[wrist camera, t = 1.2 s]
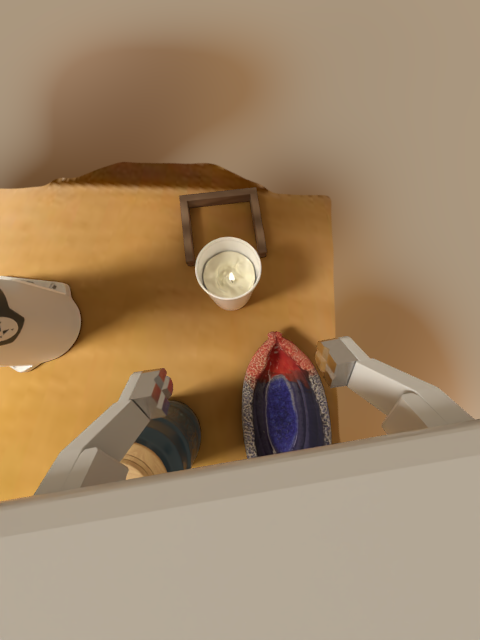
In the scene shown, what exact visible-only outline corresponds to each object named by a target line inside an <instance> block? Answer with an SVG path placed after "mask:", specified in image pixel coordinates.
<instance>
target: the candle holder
mask: <svg viewBox="0 0 480 640" xmlns="http://www.w3.org/2000/svg"><path fill="white" fill-rule="evenodd" d="M261 270H262V267H261V261H260V258H259V255H258V253H257V252H256V250H255V249H254V248H253V247H252V246H251V245H250V244H249V243H247V242H246V241H244V240H242V239H239V238H235V237H222V238H218V239H215V240H213V241H211V242H209V243H208V244H207V245H206V246H205V247H204V248H203V249H202V250H201V251H200V253H199V255H198V257H197V259H196V264H195V273H196V278H197V280H198V283H199V284H200V286H201V287H202V289H203V290H204V291H205V292H206V293H207V294H208V295H209V296H210V297H211V299H212V300H213V301H214V302H215V303H216V304H217V305H218V306H219V307H221V308H222V309H225V310H230V311H233V310H238V309H240V308H242V307H243V306H244V305H246V303H247V302H248V301H249V299H250V297H251V295H252V293H253V291H254V289H255V287H256V285H257V284H258V282H259V279H260V276H261Z"/></svg>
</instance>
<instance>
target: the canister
mask: <svg viewBox="0 0 480 640" xmlns="http://www.w3.org/2000/svg"><path fill="white" fill-rule="evenodd" d="M168 401H169V403H170V405H169V409H168V413H167V416H165V417H160V418H155V419H150V421H149V423H148V424H147V426H146V427H145V428H144V430H143V431H142V432H141V434H140V435H139V437H138V438H137V439H136V441H135V442H134V443H133V445H132V446H131V448H130V449H129V450H128V452H127V453H126V454H125V456H124V457H123V459H122V460H121V461H120V463H122V464H124V465H125V466H127V467H128V469H129V471H128V474H127V477H126V480H128V479H133V478H139V477H145V476H151V475H157V474H162V473H168V472H174V471H180V470H186V469H191V467H192V464H193V462H194V461H195V459H196V457H197V454H198V451H199V448H200V443H201V428H200V423H199V420H198V418H197V416H196V414H195V413H194V412H193V410H192V409H191V408H189V407H188V406H187V405H185V404H184V403H181V402H179V401H174V400H168Z"/></svg>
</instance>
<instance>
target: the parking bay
mask: <svg viewBox="0 0 480 640" xmlns="http://www.w3.org/2000/svg"><path fill="white" fill-rule="evenodd" d="M248 201H250V206H251V212H252V219H253V225H254V231H255V237H256V243H257V250H258V255H259V257H266V253H267V249H266V243H265V237H264V231H263V226H262V220H261V214H260V208H259V202H258V196H257V190H256V187H254V188H245V189H236V190H227V191H218V192H209V193H199V194H190V195H181V196H180V206H181V216H182V227H183V237H184V247H185V257H186V263H187V264H188V266H193V265H195V256H194V247H193V237H192V228H191V218H190V209H189V208H194V207H203V206H212V205H221V204H230V203H239V202H248Z"/></svg>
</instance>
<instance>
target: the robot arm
mask: <svg viewBox="0 0 480 640" xmlns="http://www.w3.org/2000/svg"><path fill="white" fill-rule="evenodd" d="M80 327H81V316H80V312H79V309H78V307H77V305H76V304H75V302H74V301H73V299H72V297H71V291H70V287H69V285H68V284H65V283H61V282H53V281H44V280H34V279H25V278H16V277H6V276H0V367H5V366H10V367H11V368H13V369H14V370H16V371H18V372H29V371H31V370H32V369H34V368H35V367H37V366H38V365H39V364H41V363H44V362H47V361H50V360H53V359H56V358H58V357H59V356H61V355H63V354H64V353H65V352H66V351H68V350H69V349H70V347H71V346H72V345H73V344H74V342H75V341H76V339H77V337H78V334H79V331H80ZM316 347H317V349H318V350H317V351H316V352H315V361H316V364H317V366H318V368H319V370H321V371H322V372H324V379H325V380H326V382H327V384H328V385H329V387H330V388H334V387H341V386H347V387H349V388H350V389H351V390H353V391H354V392H355V393H357V394H358V395H360V396H361V397H362V398H364V399H365V400H367V401H368V402H369V403H370V404H372V405H373V406H375V407H376V408H377V409H379V410H380V411H382V412H383V413H384V414H386V415H387V417H386V419H385V420H384V421H383V423H382V428H383V429H384V431H385V432H386V433H387V435H384V436H378V437H372V438H366V439H361V440H354V441H348V442H343V443H337V444H331V445H325V446H319V447H314V448H308V449H302V450H296V451H290V452H284V453H279V454H273V455H267V456H261V457H255V458H250V459H244V460H238V461H232V462H226V463H220V464H215V465H209V466H203V467H197V468H191V469H186V470H180V471H174V472H168V473H162V474H157V475H151V476H145V477H139V478H133V479H128V480H126V477H127V474H128V471H129V469H128V467H127V466H125V465H124V464H122V463H120V461H121V460H122V459H123V457H124V456H125V454H126V453H127V452H128V450H129V449H130V448H131V446H132V445H133V443H134V442H135V441H136V439H137V438H138V437H139V435H140V434H141V432H142V431H143V430H144V428H145V427H146V426H147V424H148V423H149V421H150V419H155V418H160V417H165V416H167V413H168V409H169V405H170V403H169V401H168V399H169V398H170V397H171V395H172V392H173V383H172V380H171V378H170V377H168V376H166V374H167V372H166V370H165V369H164V368H160V369H153V370H146V371H140V372H134V373H133V374H132V375H131V376H130V378H129V380H128V382H127V384H126V386H125V388H124V390H123V392H122V394H121V396H120V398H119V400H118V402H117V403H114V404H113V405H112V406H110V407H109V408H108V409H107V410H106V411H105V412H104V413H103V414H102V415H101V416H100V417H98V418H97V419H96V420H95V421H94V422H93V423H92V424H91V425H90V426H89V427H87V428H86V429H85V430H84V431H83V432H82V433H81V434H80V435H79V436H78V437H76V438H75V439H74V440H73V441H72V442H71V443H70V444H69V445H68V446H67V447H66V448H64V449H63V450H62V451H61V452H60V454H59V455H58V457H57V458H56V460H55V462H54V463H53V465H52V466H51V468H50V470H49V471H48V473H47V474H46V476H45V478H44V479H43V481H42V482H41V484H40V486H39V487H38V489H37V491H36V492H35V494H34V495H33V496H29V497H23V498H17V499H12V500H6V501H0V640H480V419H477V420H475V419H474V418H472V417H471V416H470V415H469V414H468V413H467V412H466V411H464V410H463V409H462V408H461V407H460V406H459V405H458V404H456V403H455V402H454V401H453V400H452V399H450V398H449V397H448V396H447V395H446V394H445V393H444V392H443V391H441V390H440V389H439V388H438V387H436V386H433V385H431V384H429V383H427V382H425V381H422V380H420V379H418V378H416V377H413V376H411V375H409V374H407V373H405V372H402V371H400V370H398V369H396V368H393V367H391V366H389V365H387V364H385V363H382V362H380V361H378V360H376V359H370V358H369V357H368V356H367V355H366V354H365V353H364V352H363V351H362V350H361V348H360V347H359V346H358V345H357V344H356V343H355V342H354V341H353V340H352V339H351V338H350V337H348V336H344V337H339V338H333V339H327V340H322V341H318V342H317V345H316Z"/></svg>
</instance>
